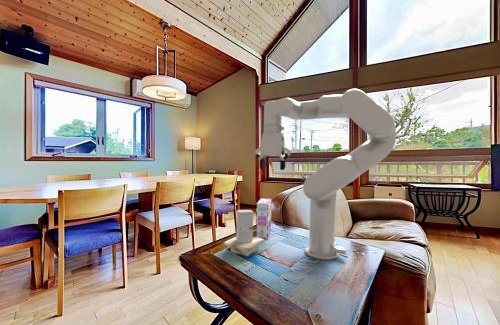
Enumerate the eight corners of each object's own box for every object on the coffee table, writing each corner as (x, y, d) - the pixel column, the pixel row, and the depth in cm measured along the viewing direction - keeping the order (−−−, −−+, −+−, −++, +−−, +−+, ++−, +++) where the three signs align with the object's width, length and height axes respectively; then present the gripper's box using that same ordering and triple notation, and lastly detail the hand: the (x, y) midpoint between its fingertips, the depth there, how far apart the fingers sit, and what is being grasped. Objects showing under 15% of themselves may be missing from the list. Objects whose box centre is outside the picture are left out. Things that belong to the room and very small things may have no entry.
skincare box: (238, 243, 94) (238, 212, 93) (235, 239, 98) (236, 209, 98) (253, 241, 95) (253, 211, 95) (250, 238, 100) (250, 209, 99)
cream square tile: (264, 248, 99) (264, 239, 99) (249, 259, 88) (249, 248, 88) (240, 242, 105) (240, 233, 105) (223, 252, 95) (223, 242, 95)
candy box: (268, 239, 110) (268, 203, 109) (255, 238, 111) (255, 203, 110) (271, 230, 123) (271, 198, 123) (260, 229, 124) (260, 197, 124)
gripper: (294, 130, 103) (294, 169, 104) (259, 131, 112) (259, 168, 113) (287, 128, 97) (287, 170, 97) (251, 130, 106) (250, 169, 106)
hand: (272, 169), depth 105 cm, fingers open, 9 cm apart
